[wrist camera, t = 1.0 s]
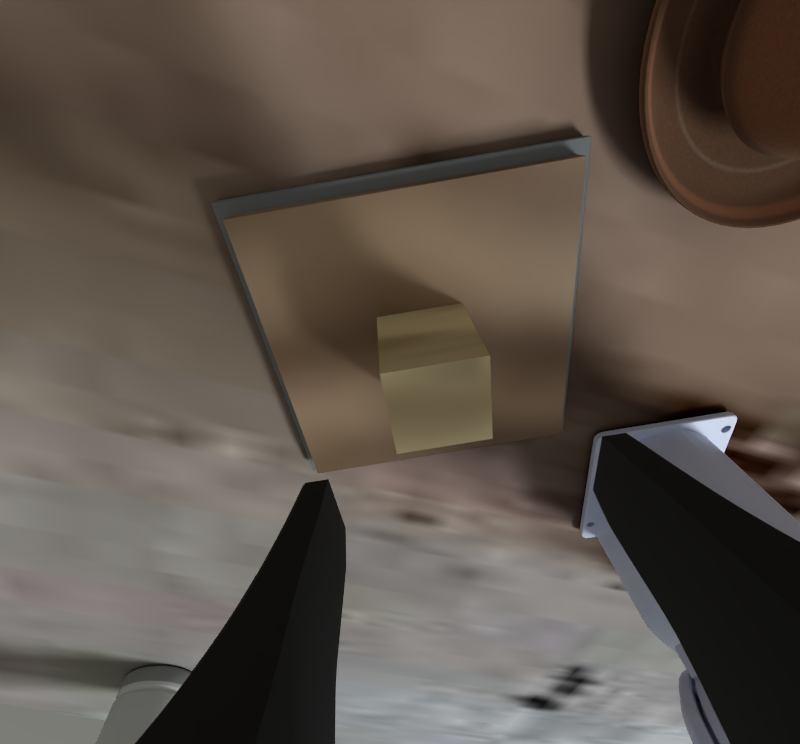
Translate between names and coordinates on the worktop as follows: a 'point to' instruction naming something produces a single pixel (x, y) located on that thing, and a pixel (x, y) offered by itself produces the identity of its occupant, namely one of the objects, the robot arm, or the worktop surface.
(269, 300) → the lid
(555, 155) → the mat
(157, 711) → the travel mug
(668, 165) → the cup and saucer
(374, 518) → the worktop surface
